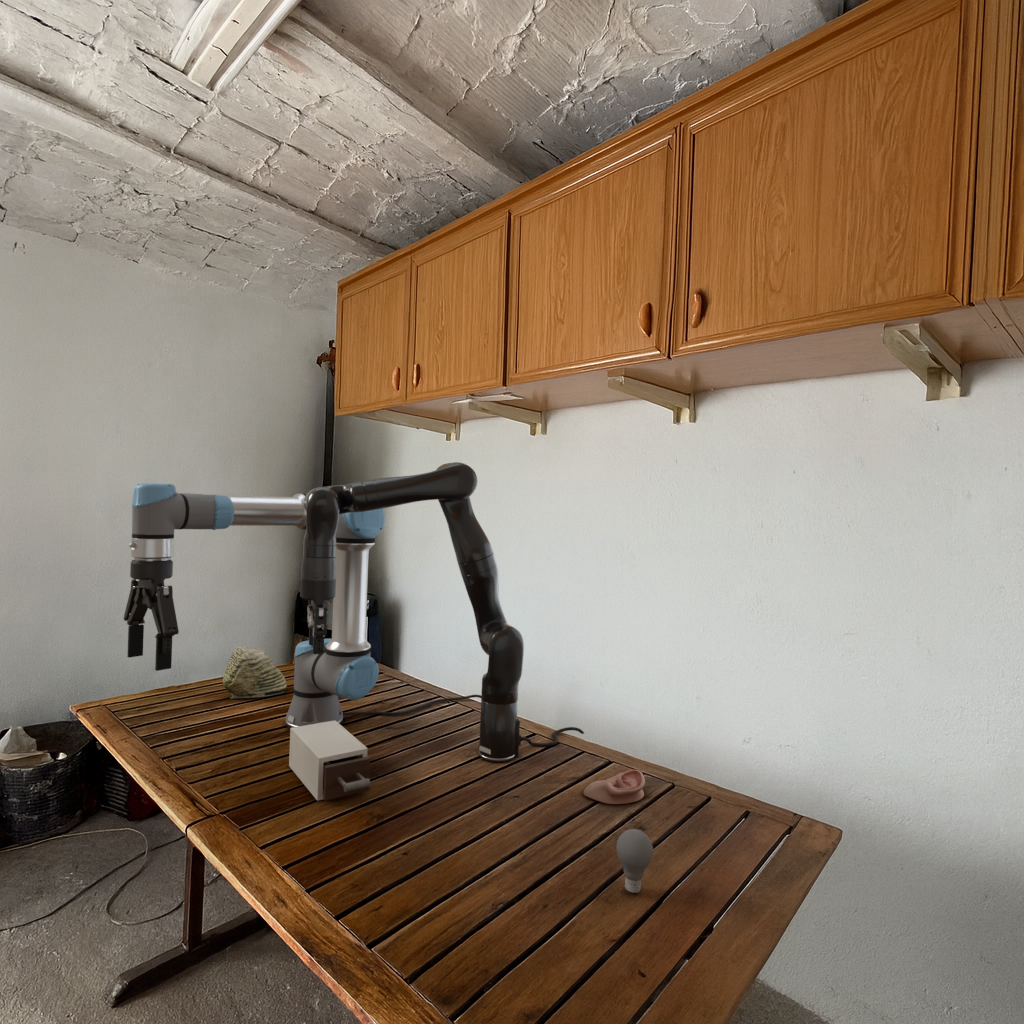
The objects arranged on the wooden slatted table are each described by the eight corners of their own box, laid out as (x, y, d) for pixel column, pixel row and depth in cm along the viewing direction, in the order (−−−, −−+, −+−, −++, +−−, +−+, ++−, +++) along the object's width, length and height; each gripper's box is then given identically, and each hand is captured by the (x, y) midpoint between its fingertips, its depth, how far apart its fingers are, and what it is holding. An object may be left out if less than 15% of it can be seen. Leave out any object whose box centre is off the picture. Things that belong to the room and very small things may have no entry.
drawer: (379, 800, 131) (380, 767, 131) (334, 812, 125) (335, 778, 125) (337, 759, 150) (339, 730, 150) (297, 767, 145) (298, 737, 145)
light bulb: (610, 879, 108) (613, 822, 108) (644, 879, 109) (647, 822, 109) (619, 902, 102) (622, 840, 102) (655, 901, 103) (658, 840, 103)
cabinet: (366, 789, 138) (367, 748, 138) (317, 801, 132) (318, 758, 132) (333, 756, 154) (335, 720, 154) (288, 766, 148) (290, 727, 148)
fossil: (218, 695, 195) (220, 647, 195) (278, 685, 208) (279, 640, 207) (228, 703, 189) (230, 653, 188) (289, 692, 201) (290, 645, 201)
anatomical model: (582, 782, 137) (587, 761, 148) (581, 800, 137) (586, 778, 148) (645, 790, 134) (645, 768, 145) (644, 809, 134) (644, 785, 145)
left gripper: (108, 554, 134) (104, 654, 134) (159, 565, 118) (155, 678, 119) (146, 552, 140) (143, 648, 140) (199, 563, 124) (195, 671, 124)
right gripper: (340, 580, 136) (337, 656, 136) (331, 572, 149) (329, 641, 149) (304, 581, 133) (301, 658, 133) (298, 573, 146) (295, 643, 146)
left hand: (148, 662), depth 129 cm, fingers open, 13 cm apart
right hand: (315, 649), depth 141 cm, fingers open, 8 cm apart
